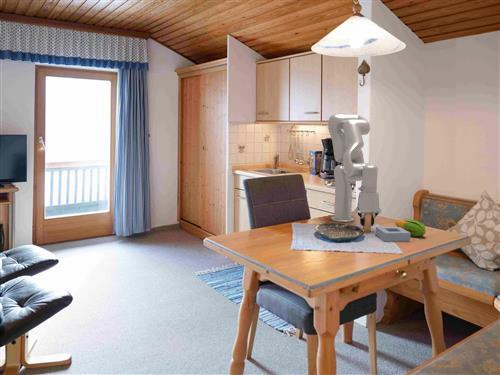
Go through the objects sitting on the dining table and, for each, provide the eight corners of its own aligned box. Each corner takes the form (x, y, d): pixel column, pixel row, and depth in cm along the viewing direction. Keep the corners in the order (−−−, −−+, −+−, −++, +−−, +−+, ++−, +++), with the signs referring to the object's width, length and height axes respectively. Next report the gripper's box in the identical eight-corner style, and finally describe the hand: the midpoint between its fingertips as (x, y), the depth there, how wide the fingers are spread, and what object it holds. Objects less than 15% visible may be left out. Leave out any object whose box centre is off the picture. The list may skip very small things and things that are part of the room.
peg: (361, 230, 218) (362, 207, 216) (369, 230, 218) (370, 207, 216) (364, 232, 214) (365, 209, 212) (371, 232, 214) (373, 209, 212)
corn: (419, 223, 201) (390, 215, 219) (417, 239, 202) (388, 229, 220) (430, 223, 204) (401, 215, 222) (428, 238, 205) (399, 229, 223)
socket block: (375, 234, 209) (375, 227, 208) (399, 234, 210) (399, 226, 209) (384, 241, 197) (385, 233, 197) (409, 241, 198) (410, 233, 197)
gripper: (354, 190, 208) (353, 227, 211) (388, 190, 209) (385, 227, 212) (350, 188, 216) (348, 223, 218) (382, 188, 217) (380, 223, 220)
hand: (367, 225), depth 215 cm, fingers closed on peg, 4 cm apart
